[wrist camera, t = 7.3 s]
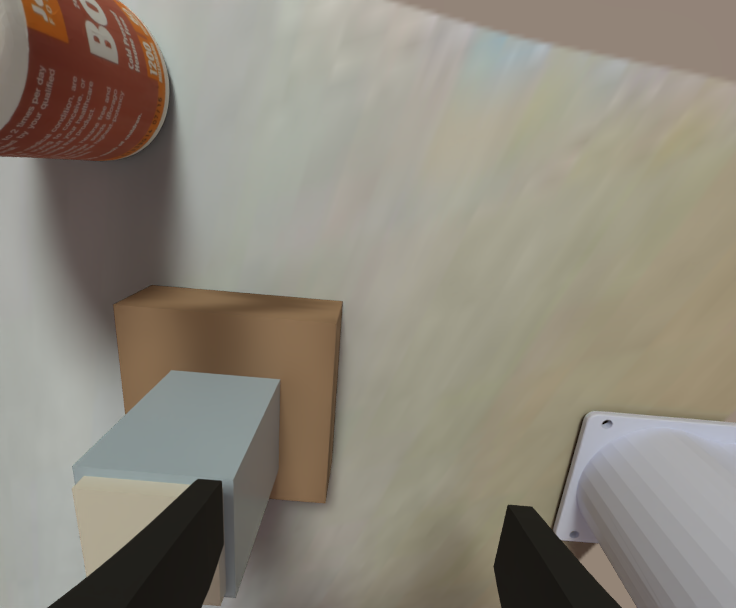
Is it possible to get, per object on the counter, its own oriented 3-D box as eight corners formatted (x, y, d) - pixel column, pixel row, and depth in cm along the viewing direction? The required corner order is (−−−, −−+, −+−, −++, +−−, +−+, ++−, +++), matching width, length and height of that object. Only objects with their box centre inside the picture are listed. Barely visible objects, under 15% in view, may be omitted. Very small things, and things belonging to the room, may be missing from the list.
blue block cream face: (280, 379, 18) (227, 492, 11) (278, 469, 19) (230, 613, 13) (171, 370, 18) (59, 478, 11) (177, 461, 19) (81, 601, 13)
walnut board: (342, 301, 20) (336, 323, 17) (332, 460, 22) (325, 503, 20) (151, 285, 20) (113, 304, 17) (164, 446, 22) (133, 487, 20)
